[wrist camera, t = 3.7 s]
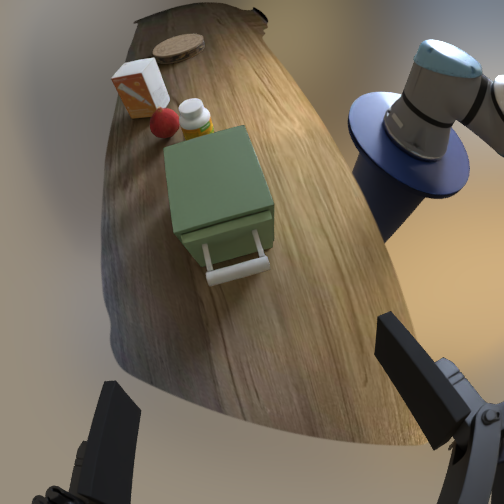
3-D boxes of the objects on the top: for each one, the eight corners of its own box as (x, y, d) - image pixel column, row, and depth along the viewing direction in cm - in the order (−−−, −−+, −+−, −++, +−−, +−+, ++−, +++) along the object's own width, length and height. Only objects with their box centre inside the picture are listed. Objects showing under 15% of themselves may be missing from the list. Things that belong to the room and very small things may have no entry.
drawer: (283, 280, 37) (286, 259, 28) (208, 301, 36) (190, 286, 28) (249, 177, 43) (244, 140, 35) (187, 195, 42) (170, 162, 34)
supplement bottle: (210, 155, 46) (198, 116, 37) (184, 152, 47) (168, 115, 38) (220, 135, 48) (211, 96, 39) (195, 132, 49) (183, 95, 40)
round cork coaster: (165, 69, 60) (163, 61, 57) (148, 56, 65) (145, 49, 62) (214, 48, 62) (212, 40, 59) (191, 37, 67) (189, 30, 65)
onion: (158, 150, 48) (143, 122, 40) (155, 132, 50) (142, 105, 42) (186, 139, 48) (174, 110, 41) (181, 122, 50) (170, 94, 43)
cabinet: (274, 241, 40) (274, 204, 30) (197, 262, 39) (173, 233, 29) (250, 169, 44) (244, 124, 34) (183, 188, 44) (163, 147, 34)
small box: (131, 119, 53) (109, 78, 41) (142, 102, 55) (124, 62, 43) (160, 117, 52) (141, 72, 39) (171, 99, 54) (155, 56, 42)
